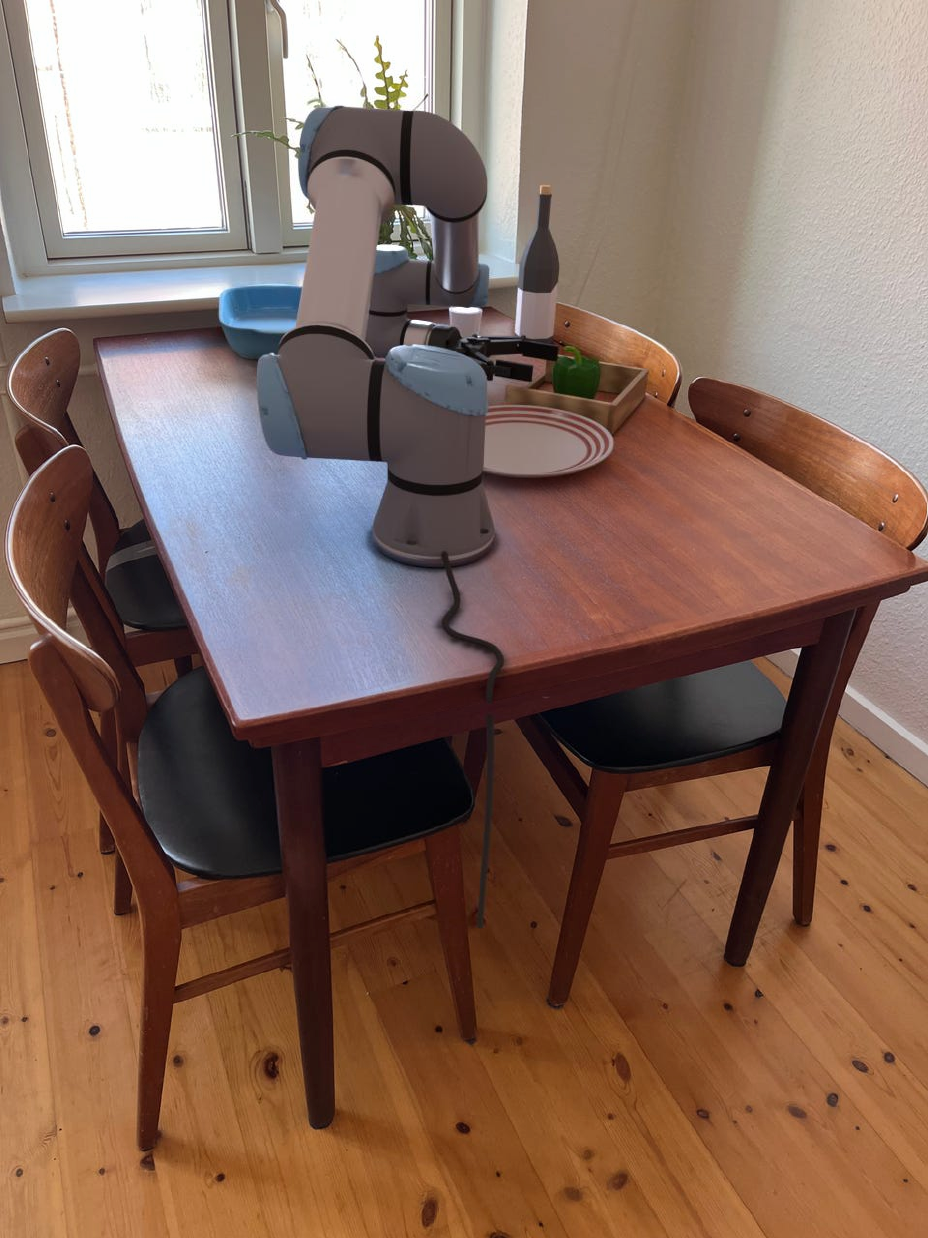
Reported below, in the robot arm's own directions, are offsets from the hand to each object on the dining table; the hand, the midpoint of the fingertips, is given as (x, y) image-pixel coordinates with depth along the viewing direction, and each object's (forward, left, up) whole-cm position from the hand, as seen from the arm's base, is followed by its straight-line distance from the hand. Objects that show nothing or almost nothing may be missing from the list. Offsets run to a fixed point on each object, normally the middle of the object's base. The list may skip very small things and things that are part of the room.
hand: (545, 363), depth 162 cm
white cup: (+36, 0, -7) cm, 36 cm away
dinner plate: (-22, +15, -7) cm, 28 cm away
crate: (-4, -4, -6) cm, 9 cm away
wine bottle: (+34, -15, -7) cm, 38 cm away
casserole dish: (+48, +36, -7) cm, 60 cm away
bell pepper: (-4, -4, -7) cm, 9 cm away
